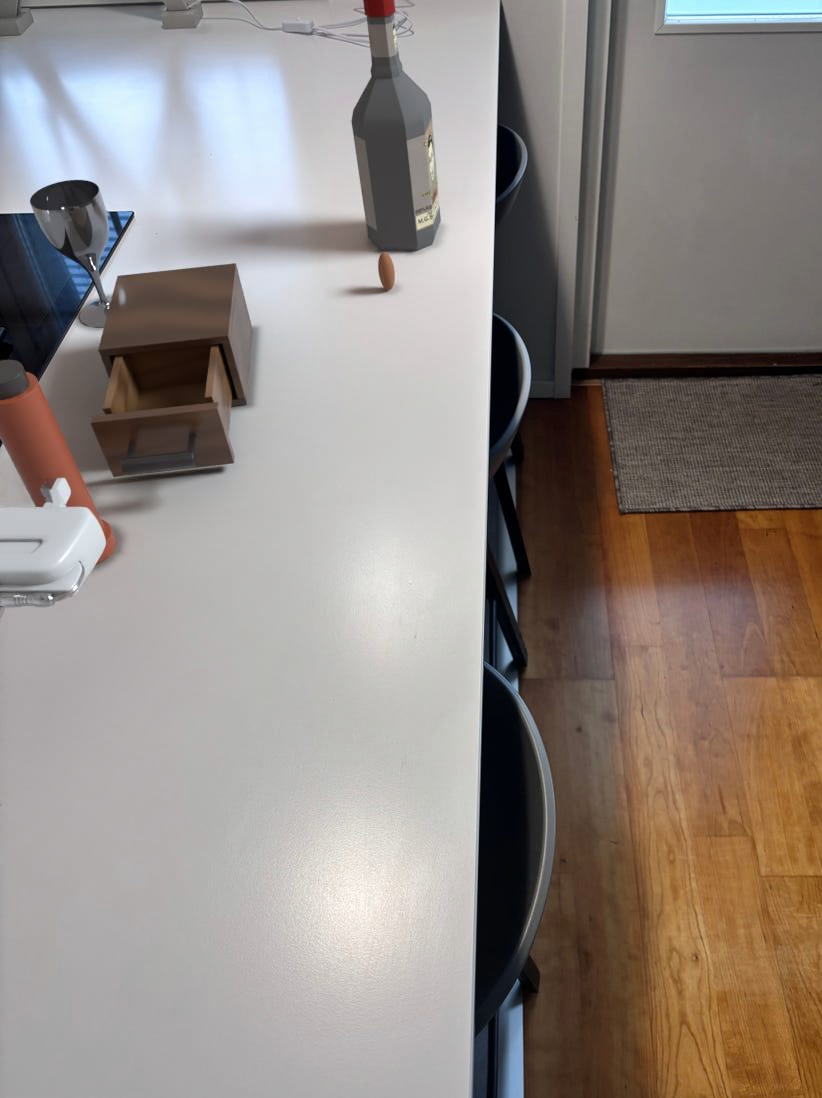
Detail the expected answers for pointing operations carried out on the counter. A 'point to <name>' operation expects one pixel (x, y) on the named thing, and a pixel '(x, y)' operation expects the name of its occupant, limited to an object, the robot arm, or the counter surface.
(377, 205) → the liquor
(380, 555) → the counter surface
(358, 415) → the counter surface
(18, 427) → the pepper mill
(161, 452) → the drawer
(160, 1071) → the counter surface
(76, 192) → the wine glass
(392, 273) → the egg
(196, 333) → the cabinet
